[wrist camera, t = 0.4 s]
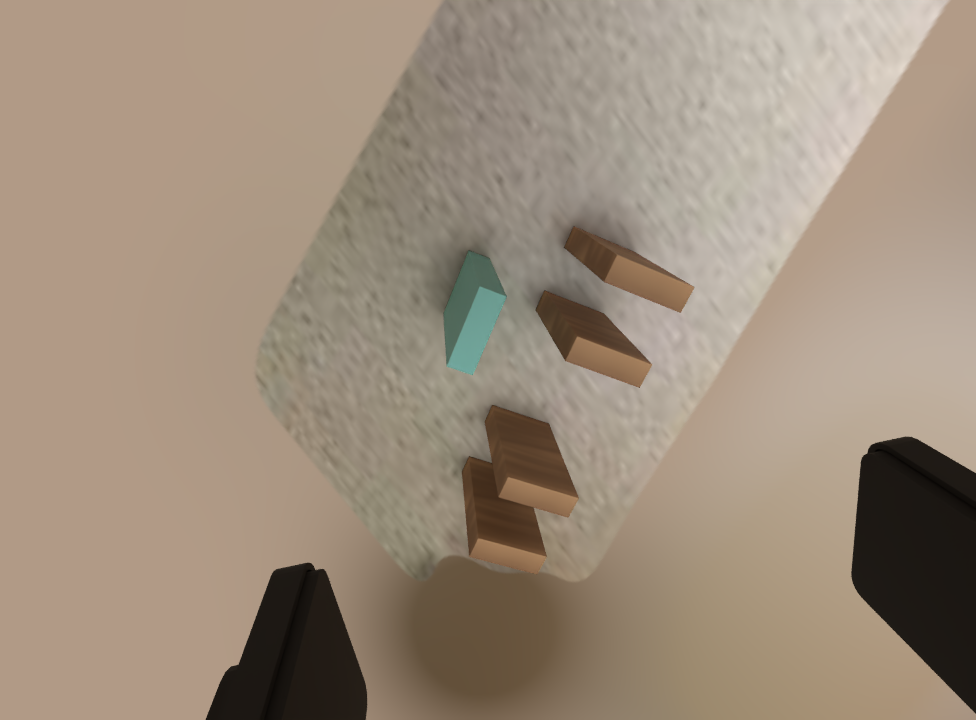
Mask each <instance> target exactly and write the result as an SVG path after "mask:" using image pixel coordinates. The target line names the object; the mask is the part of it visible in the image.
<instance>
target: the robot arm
mask: <svg viewBox="0 0 976 720" xmlns="http://www.w3.org/2000/svg"><path fill="white" fill-rule="evenodd" d="M851 573H852V581H853V584H854V586H855V589H856V590H857V592H858V593H859V595H860V596H861V597H862V598H863V599H864V600H865V601H866V602H867V603H868V605H870V607H871V608H872V609H873V610H874V611H876V613H877V614H878V615H879V616H880V617H881V618H882V619H883V620H884V621H885V622H887V624H888V625H889V626H890V627H891V628H892V629H893V630H894V631H895V632H896V633H897V634H898V635H899V636H900V637H901V638H902V639H903V640H904V641H905V642H906V643H907V644H908V645H909V646H910V647H911V648H912V649H913V650H914V651H915V652H916V653H917V654H918V655H919V656H920V657H921V658H922V659H923V660H924V662H925V663H926V664H928V666H930V668H931V669H932V670H933V671H934V672H935V673H936V674H937V675H938V676H939V677H940V678H941V679H942V680H943V681H944V682H945V683H946V684H947V685H948V686H949V687H950V688H951V689H952V690H953V691H954V692H955V693H956V694H957V695H958V696H959V697H960V698H961V699H962V700H963V701H964V702H965V703H966V704H967V705H968V706H969V707H970V708H971V709H972V710H973V711H974V712H975V713H976V473H974V472H973V471H971V470H969V469H967V468H966V467H964V466H962V465H961V464H959V463H957V462H955V461H954V460H952V459H950V458H949V457H947V456H945V455H943V454H942V453H940V452H938V451H937V450H935V449H933V448H931V447H930V446H928V445H926V444H925V443H923V442H921V441H919V440H918V439H915V438H913V437H902V438H897V439H892V440H887V441H883V442H878V443H875V444H872V445H871V446H870V448H869V449H868V453H867V454H866V455H864V456H863V457H862V460H861V468H860V479H859V491H858V503H857V514H856V526H855V537H854V549H853V561H852V572H851ZM366 712H367V691H366V685H365V681H364V678H363V675H362V672H361V669H360V667H359V664H358V661H357V658H356V655H355V652H354V649H353V646H352V644H351V641H350V638H349V635H348V632H347V629H346V627H345V624H344V621H343V618H342V615H341V613H340V610H339V607H338V604H337V601H336V598H335V596H334V593H333V590H332V587H331V584H330V581H329V578H328V576H327V573H326V571H325V570H324V569H319V570H315V568H314V566H313V565H312V564H311V563H304V564H299V565H295V566H290V567H285V568H281V569H276V570H275V571H274V572H273V573H272V575H271V578H270V580H269V583H268V586H267V588H266V591H265V594H264V597H263V600H262V602H261V605H260V608H259V610H258V613H257V616H256V619H255V621H254V624H253V627H252V629H251V632H250V635H249V638H248V640H247V643H246V646H245V648H244V651H243V654H242V657H241V660H240V662H239V665H236V666H231V667H230V668H229V669H228V670H227V671H226V672H225V674H224V676H223V678H222V680H221V682H220V684H219V687H218V689H217V692H216V695H215V697H214V699H213V702H212V705H211V707H210V710H209V712H208V715H207V718H206V720H366Z"/></svg>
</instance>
